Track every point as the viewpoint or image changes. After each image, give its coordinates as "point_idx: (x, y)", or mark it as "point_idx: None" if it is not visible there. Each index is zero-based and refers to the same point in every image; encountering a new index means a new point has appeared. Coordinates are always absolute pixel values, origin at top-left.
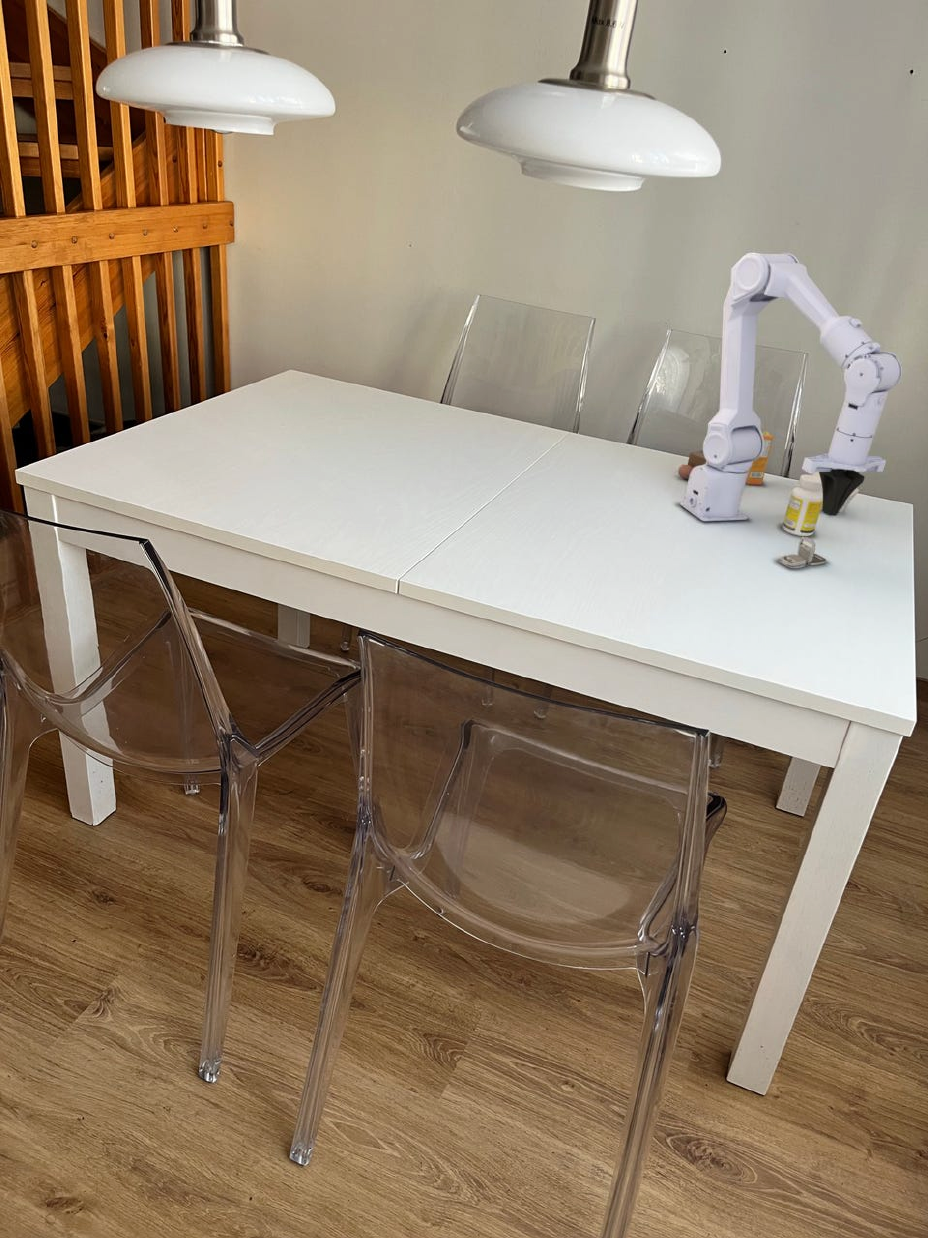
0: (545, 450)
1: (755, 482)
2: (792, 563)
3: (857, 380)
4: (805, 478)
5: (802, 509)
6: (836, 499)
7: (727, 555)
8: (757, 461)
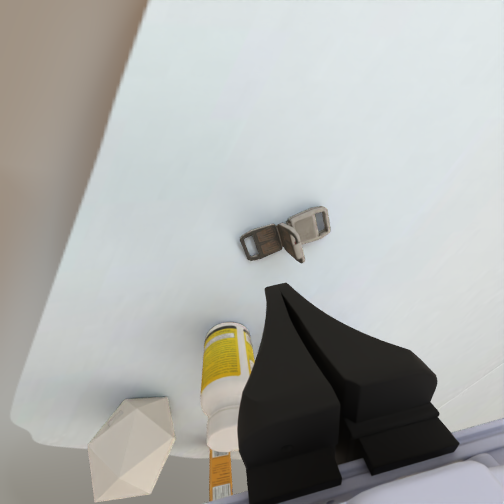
0: None
1: None
2: (323, 210)
3: None
4: None
5: (245, 360)
6: (314, 309)
7: (390, 246)
8: (224, 475)
